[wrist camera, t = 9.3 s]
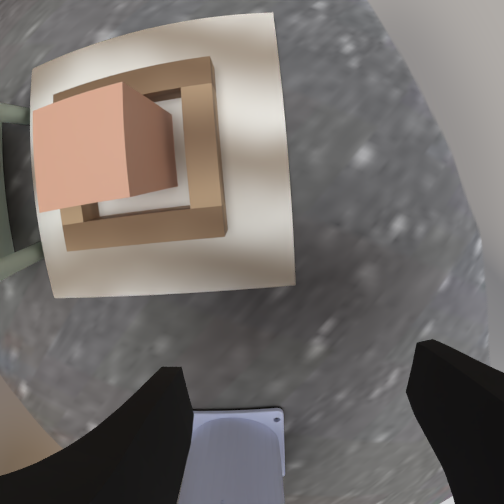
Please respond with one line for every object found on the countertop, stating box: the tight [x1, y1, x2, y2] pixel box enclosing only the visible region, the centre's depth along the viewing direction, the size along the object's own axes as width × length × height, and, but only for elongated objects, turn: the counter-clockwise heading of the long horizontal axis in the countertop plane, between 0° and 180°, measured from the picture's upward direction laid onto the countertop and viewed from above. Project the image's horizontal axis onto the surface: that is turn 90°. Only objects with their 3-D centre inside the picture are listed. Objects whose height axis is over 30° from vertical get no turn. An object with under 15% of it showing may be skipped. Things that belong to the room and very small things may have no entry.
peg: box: [33, 82, 178, 213], centre depth 12 cm, size 4×4×7 cm
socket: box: [30, 13, 295, 298], centre depth 15 cm, size 16×16×3 cm
